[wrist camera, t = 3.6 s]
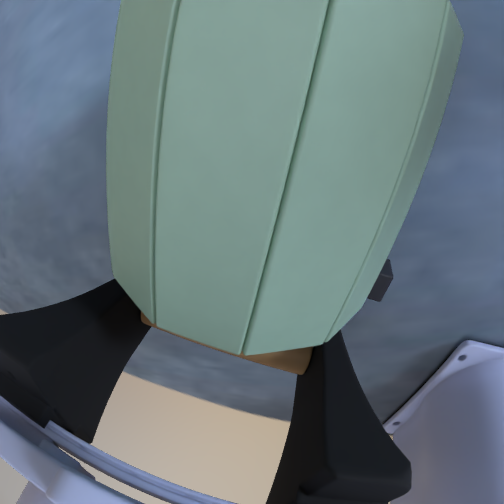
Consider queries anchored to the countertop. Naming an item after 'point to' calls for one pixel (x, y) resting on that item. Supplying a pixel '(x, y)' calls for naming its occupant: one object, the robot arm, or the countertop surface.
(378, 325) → the countertop surface
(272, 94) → the bucket
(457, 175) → the countertop surface
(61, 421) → the robot arm
